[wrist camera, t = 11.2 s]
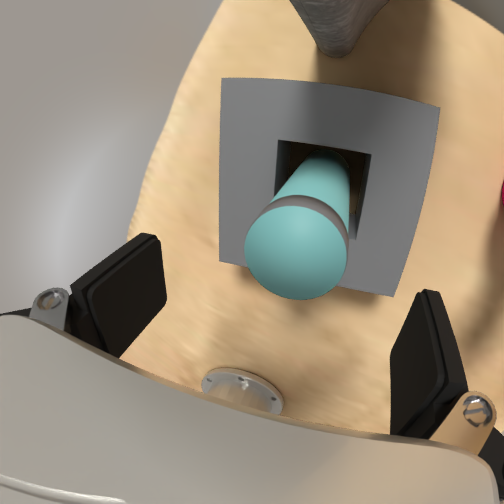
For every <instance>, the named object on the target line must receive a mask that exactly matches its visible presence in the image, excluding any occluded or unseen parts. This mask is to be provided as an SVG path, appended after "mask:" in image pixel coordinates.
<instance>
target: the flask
mask: <svg viewBox="0 0 504 504" xmlns="http://www.w3.org/2000/svg"><path fill="white" fill-rule="evenodd" d="M388 1H389V0H290V2H291V3H292V5H293V6H294V8H295V9H296V11H297V12H298V14H299V16H300V17H301V19H302V20H303V22H304V24H305V25H306V27H307V29H308V30H309V32H310V34H311V35H312V37H313V39H314V40H315V42H316V44H317V46H318V47H319V49H320V50H321V51H322V52H323V53H324V54H325V55H327V56H330V57H334V58H340V57H344V56H346V55H348V54H349V53H350V52H351V50H352V49H353V47H354V45H355V43H356V42H357V40H358V38H359V37H360V35H361V33H362V32H363V31H364V29H365V28H366V26H367V25H368V24H369V22H370V21H371V20H372V18H373V17H374V16H375V15H376V14H377V13H378V11H379V10H380V9H381V8H382V7H383V6H384V5H385V4H386V3H387V2H388Z"/></svg>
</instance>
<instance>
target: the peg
mask: <svg viewBox="0 0 504 504" xmlns="http://www.w3.org/2000/svg"><path fill="white" fill-rule="evenodd" d="M349 198H350V170H349V166H348V164H347V162H346V160H345V159H344V158H343V157H342V156H341V155H340V154H338V153H337V152H335V151H332V150H328V149H320V150H316V151H314V152H312V153H310V154H309V155H308V156H307V157H306V158H305V160H304V161H303V162H302V163H301V164H300V166H299V167H298V168H297V169H296V171H295V172H294V173H293V174H292V176H291V177H290V178H289V179H288V181H287V182H286V183H285V185H284V186H283V187H282V188H281V190H280V191H279V192H278V193H277V195H276V196H275V197H274V198H273V200H272V201H271V202H270V203H269V205H267V206H266V207H265V208H264V209H263V210H262V212H261V213H260V214H259V215H258V217H257V218H256V219H255V220H254V222H253V223H252V224H251V226H250V228H249V230H248V232H247V235H246V239H245V245H244V254H245V259H246V263H247V266H248V268H249V270H250V272H251V273H252V275H253V276H254V278H255V279H256V280H257V281H258V282H259V283H260V284H261V285H262V286H263V287H265V288H266V289H267V290H269V291H270V292H272V293H274V294H276V295H279V296H281V297H284V298H288V299H294V300H307V299H313V298H316V297H319V296H321V295H324V294H325V293H327V292H329V291H330V290H331V289H333V288H334V287H335V286H336V285H337V284H338V282H339V281H340V279H341V278H342V276H343V274H344V272H345V269H346V266H347V261H348V247H349V238H348V225H349Z"/></svg>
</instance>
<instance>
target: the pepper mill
mask: <svg viewBox="0 0 504 504" xmlns="http://www.w3.org/2000/svg"><path fill="white" fill-rule="evenodd" d="M502 201H503V205H504V183H503V188H502Z"/></svg>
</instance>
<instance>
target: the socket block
mask: <svg viewBox="0 0 504 504" xmlns="http://www.w3.org/2000/svg"><path fill="white" fill-rule="evenodd" d="M439 113H440V108H439V107H436V106H432V105H429V104H425V103H422V102H418V101H414V100H410V99H406V98H402V97H398V96H394V95H389V94H385V93H380V92H375V91H370V90H365V89H359V88H353V87H347V86H340V85H333V84H326V83H317V82H308V81H297V80H284V79H266V78H222V82H221V111H220V155H219V261H221V262H225V263H230V264H234V265H239V266H244V267H248V266H247V263H246V259H245V254H244V245H245V239H246V235H247V232H248V230H249V228H250V226H251V224H252V223H253V222H254V220H255V219H256V218H257V217H258V215H259V214H260V213H261V212H262V210H263V209H264V208H265V207H266V206H267V205H269V203H270V202H271V201H272V200H273V198H274V197H275V196H276V195H277V193H278V192H279V191H280V190H281V188H282V187H283V186H284V185H285V183H286V182H287V181H288V175H289V164H290V152H291V141H294V142H302V143H309V144H316V145H323V146H329V147H335V148H341V149H347V150H352V151H357V152H363V153H366V156H365V163H364V169H363V175H362V181H361V187H360V193H359V198H358V204H357V209H356V214H351V213H349V225H348V238H349V247H348V261H347V266H346V269H345V272H344V274H343V276H342V278H341V279H340V281H339V282H338V284H337V285H336V286H339V287H344V288H349V289H354V290H359V291H364V292H369V293H375V294H380V295H385V296H390V297H394V294H395V292H396V289H397V286H398V284H399V281H400V278H401V275H402V272H403V269H404V266H405V263H406V260H407V257H408V254H409V251H410V248H411V244H412V241H413V238H414V234H415V231H416V227H417V224H418V220H419V216H420V212H421V209H422V205H423V201H424V196H425V192H426V188H427V183H428V179H429V174H430V169H431V164H432V159H433V153H434V148H435V142H436V135H437V129H438V121H439Z"/></svg>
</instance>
